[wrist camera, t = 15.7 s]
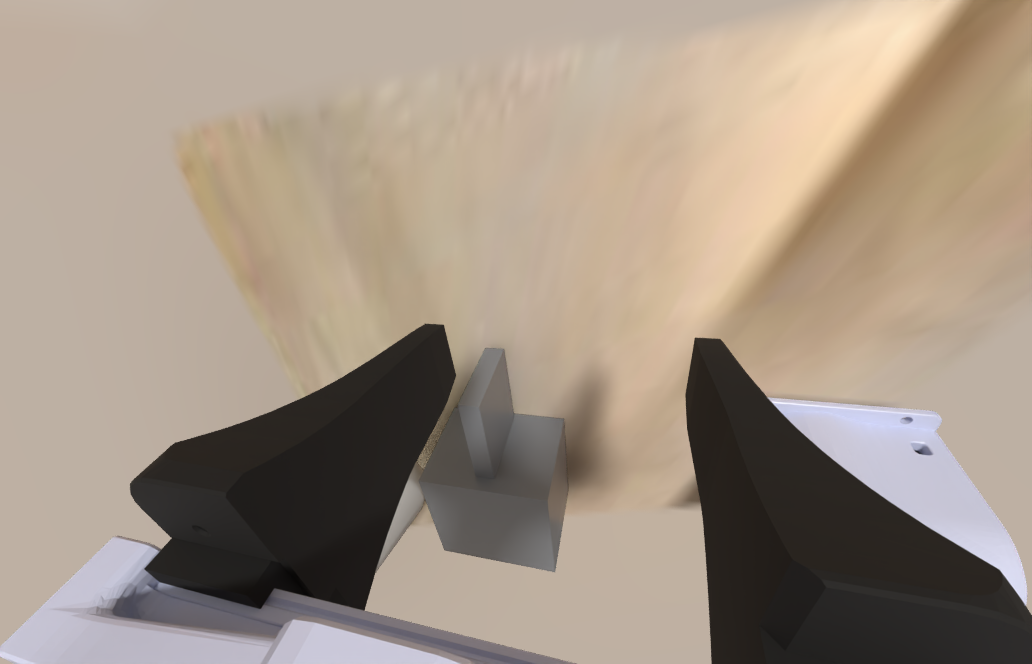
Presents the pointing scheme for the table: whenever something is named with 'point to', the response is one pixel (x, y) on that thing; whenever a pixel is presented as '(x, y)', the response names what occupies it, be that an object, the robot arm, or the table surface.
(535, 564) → the grey block with fin
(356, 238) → the table surface
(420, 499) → the salt shaker
